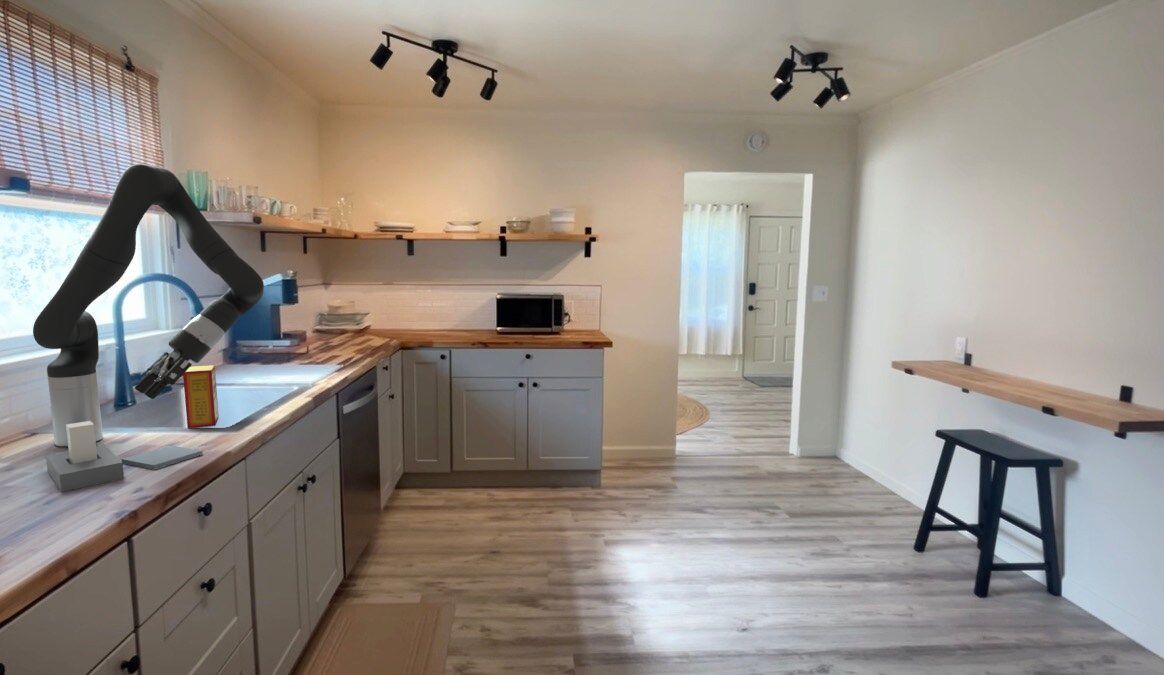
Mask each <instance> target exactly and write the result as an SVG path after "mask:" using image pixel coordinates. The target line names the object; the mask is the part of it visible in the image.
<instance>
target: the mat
mask: <svg viewBox="0 0 1164 675" xmlns="http://www.w3.org/2000/svg"><path fill="white" fill-rule="evenodd" d="M199 455H200V456H203V449H202V450H200V449H196V448H190V447H189V448H188V447H182V446H177V445H170V444H169V445H167V446H163V447H160V448H157V449H152V450H148V451H146V452H142V453H138V454H137V453H136V454H134V455H130V456H127V457H124V458H120V460H121V461H122V462H123V465H129V466H134V467H139V468H144V469H149V470H153V469H155V470H158V469H160V467H161V468H164V467H167V466H166V465H168V466H170V464H171V465H173V464H177V463H180V461H181V462H184V461H186V460H189V459H193V457H194V458H196V456H197V457H200V456H199ZM183 460H184V461H183ZM163 466H164V467H163ZM157 468H158V469H157Z"/></svg>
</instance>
